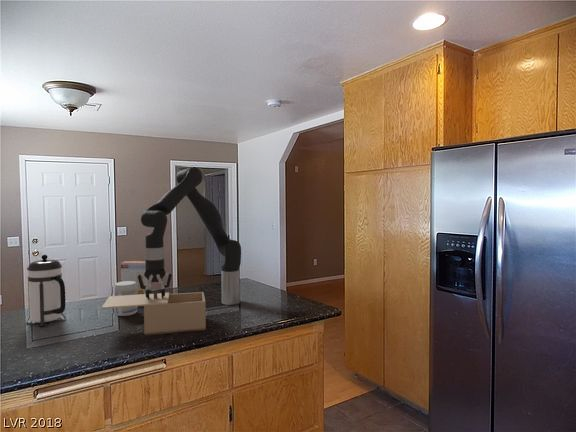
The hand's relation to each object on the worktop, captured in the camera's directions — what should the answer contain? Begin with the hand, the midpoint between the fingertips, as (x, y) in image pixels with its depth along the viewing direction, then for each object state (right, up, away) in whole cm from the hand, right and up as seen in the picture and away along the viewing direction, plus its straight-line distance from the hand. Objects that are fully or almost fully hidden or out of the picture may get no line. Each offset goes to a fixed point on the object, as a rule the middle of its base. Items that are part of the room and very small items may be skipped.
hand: (155, 297), depth 156 cm
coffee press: (-50, -13, +7) cm, 52 cm away
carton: (+8, -13, +3) cm, 15 cm away
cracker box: (-25, -11, +42) cm, 50 cm away
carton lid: (-7, -1, -2) cm, 7 cm away
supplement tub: (-21, -12, +20) cm, 31 cm away
